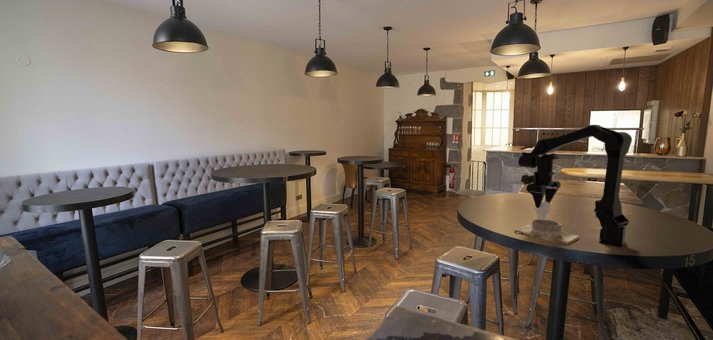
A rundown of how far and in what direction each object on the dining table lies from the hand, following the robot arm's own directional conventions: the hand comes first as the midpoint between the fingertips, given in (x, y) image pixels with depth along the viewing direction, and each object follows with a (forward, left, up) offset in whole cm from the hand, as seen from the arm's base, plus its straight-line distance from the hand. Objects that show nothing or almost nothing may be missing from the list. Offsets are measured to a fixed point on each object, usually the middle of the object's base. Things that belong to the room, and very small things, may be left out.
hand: (542, 206), depth 143 cm
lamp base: (-7, +12, -8) cm, 16 cm away
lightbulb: (0, 0, -9) cm, 9 cm away
